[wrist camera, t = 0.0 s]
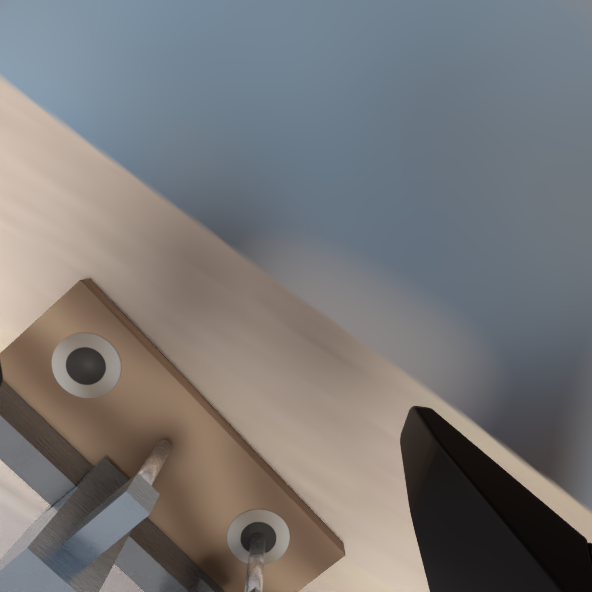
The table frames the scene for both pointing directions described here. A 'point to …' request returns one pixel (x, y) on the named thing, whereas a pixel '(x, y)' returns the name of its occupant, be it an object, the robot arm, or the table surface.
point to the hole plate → (170, 426)
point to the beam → (67, 475)
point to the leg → (83, 530)
